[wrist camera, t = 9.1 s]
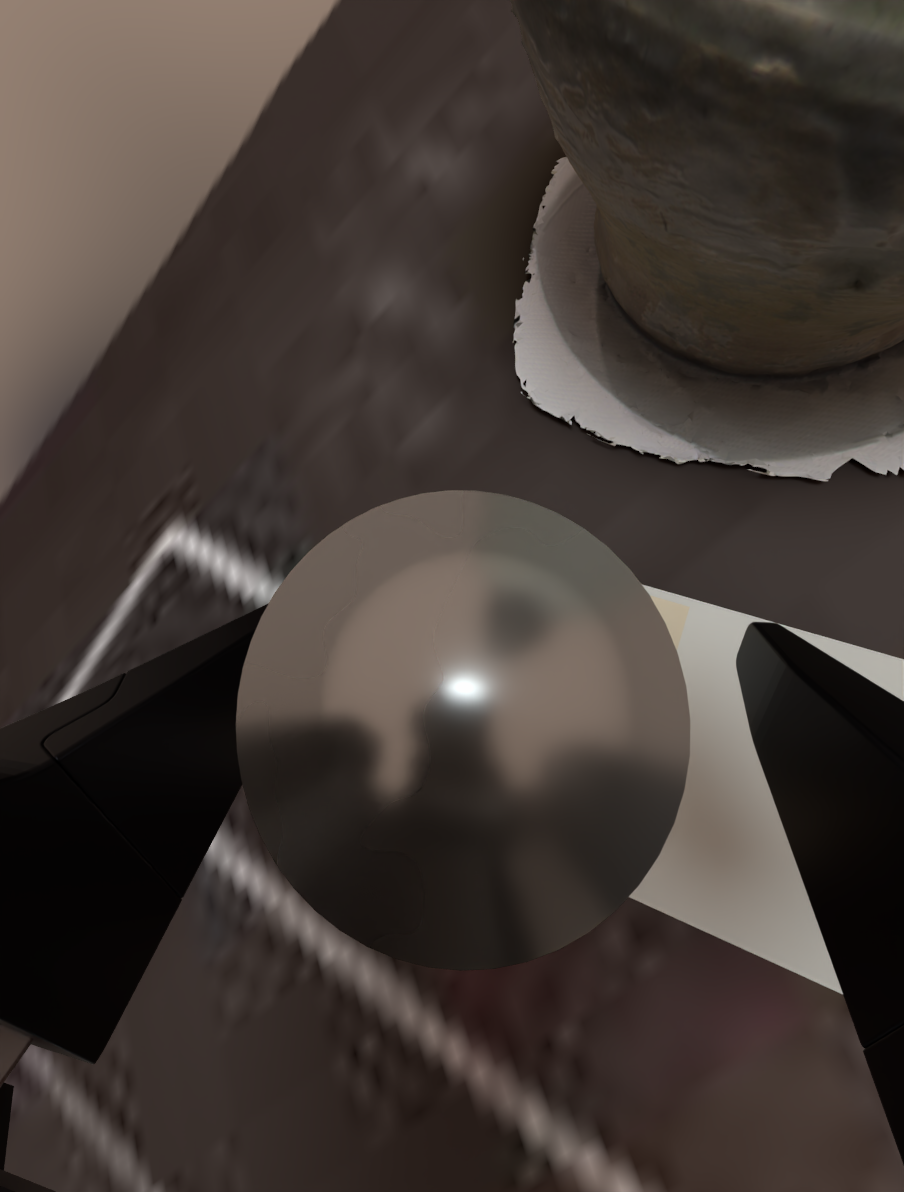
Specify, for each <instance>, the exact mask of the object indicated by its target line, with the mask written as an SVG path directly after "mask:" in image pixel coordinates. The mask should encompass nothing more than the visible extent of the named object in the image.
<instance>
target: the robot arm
mask: <svg viewBox="0 0 904 1192" xmlns="http://www.w3.org/2000/svg"><path fill="white" fill-rule="evenodd" d="M267 606H268V604H267V605H265V606H262V607H260V608H258V609H256V610H254V611H252V612H250V613H248V614H246V615H244V616H242V617H240V618H238V619H235V620H233V621H231V622H229V623H227V624H225V625H223V626H221V627H219V628H217V629H215V630H213V631H210V632H208V633H206V634H204V635H202V636H200V637H198V638H196V639H194V640H192V641H190V642H188V643H186V644H183V645H181V646H179V647H177V648H175V649H173V650H171V651H169V652H167V653H165V654H163V655H161V656H158V657H156V658H154V659H152V660H150V661H148V662H146V663H144V664H142V665H140V666H138V667H136V668H134V669H131V670H129V671H128V672H127V674H125V673H123V674H121V675H119V676H117V677H115V678H113V679H110V680H108V681H106V682H104V683H102V684H100V685H98V686H96V687H93V688H91V689H89V690H87V691H85V692H83V693H81V694H78V695H76V696H74V697H72V698H70V699H67V700H65V701H63V702H60V703H58V704H56V705H54V706H51V707H49V708H47V709H44V710H42V711H40V712H37V713H35V714H33V715H30V716H28V717H26V718H23V719H21V720H19V721H16V722H14V723H12V724H9V725H7V726H5V727H2V728H0V1192H55V1191H53V1190H50V1189H48V1188H46V1187H43V1186H41V1185H38V1184H36V1183H33V1182H31V1181H28V1180H26V1179H23V1178H21V1177H18V1176H16V1175H13V1174H11V1173H8V1172H6V1171H4V1164H5V1155H6V1147H7V1138H8V1130H9V1122H10V1113H11V1105H12V1096H13V1088H14V1086H12V1085H9V1084H6V1083H4V1082H5V1080H6V1079H7V1077H8V1076H9V1074H10V1073H11V1072H12V1070H13V1069H14V1067H15V1066H16V1064H17V1063H18V1062H19V1060H20V1059H21V1057H22V1056H23V1054H24V1053H25V1052H26V1050H27V1049H28V1047H29V1046H30V1044H32V1045H35V1046H38V1047H41V1048H44V1049H47V1050H50V1051H53V1052H56V1053H60V1054H63V1055H66V1056H69V1057H72V1058H75V1059H78V1060H81V1061H84V1062H87V1063H90V1064H95V1063H96V1061H97V1060H98V1058H99V1057H100V1055H101V1053H102V1052H103V1050H104V1048H105V1046H106V1045H107V1043H108V1041H109V1039H110V1037H111V1035H112V1033H113V1031H114V1029H115V1028H116V1026H117V1024H118V1022H119V1020H120V1018H121V1016H122V1014H123V1012H124V1010H125V1008H126V1006H127V1005H128V1003H129V1001H130V999H131V997H132V995H133V993H134V991H135V989H136V987H137V985H138V983H139V981H140V980H141V978H142V976H143V974H144V972H145V970H146V968H147V966H148V964H149V962H150V960H151V958H152V957H153V955H154V953H155V951H156V949H157V947H158V945H159V943H160V941H161V939H162V937H163V936H164V934H165V932H166V930H167V928H168V926H169V924H170V922H171V920H172V918H173V916H174V915H175V913H176V911H177V909H178V907H179V905H180V903H181V901H182V899H181V898H183V897H184V895H185V893H186V891H187V889H188V887H189V885H190V883H191V881H192V879H193V878H194V876H195V874H196V872H197V870H198V868H199V866H200V864H201V862H202V860H203V858H204V856H205V855H206V853H207V851H208V849H209V847H210V845H211V843H212V841H213V839H214V837H215V835H216V834H217V832H218V830H219V828H220V826H221V824H222V822H223V820H224V818H225V816H226V814H227V812H228V811H229V809H230V807H231V805H232V803H233V801H234V799H235V797H236V795H237V793H238V791H239V789H240V788H241V786H242V781H241V774H240V768H239V762H238V755H237V740H236V713H237V699H238V691H239V686H240V680H241V675H242V670H243V666H244V662H245V659H246V656H247V652H248V649H249V646H250V642H251V640H252V637H253V635H254V633H255V630H256V628H257V626H258V623H259V621H260V619H261V617H262V615H263V613H264V611H265V609H266V608H267ZM736 669H737V674H738V678H739V683H740V687H741V692H742V697H743V701H744V706H745V710H746V715H747V719H748V724H749V728H750V732H751V736H752V740H753V743H754V746H755V749H756V753H757V755H758V758H759V761H760V764H761V767H762V769H763V772H764V775H765V778H766V780H767V783H768V786H769V789H770V792H771V794H772V797H773V800H774V803H775V806H776V808H777V811H778V814H779V817H780V820H781V822H782V825H783V828H784V831H785V834H786V836H787V839H788V842H789V845H790V847H791V850H792V853H793V856H794V859H795V861H796V864H797V867H798V870H799V873H800V875H801V878H802V881H803V884H804V887H805V889H806V892H807V895H808V898H809V901H810V903H811V906H812V909H813V912H814V914H815V917H816V920H817V923H818V926H819V928H820V931H821V934H822V937H823V940H824V942H825V945H826V948H827V951H828V954H829V956H830V959H831V962H832V965H833V968H834V970H835V973H836V976H837V979H838V981H839V984H840V987H841V990H842V993H843V995H844V998H845V1001H846V1004H847V1007H848V1009H849V1012H850V1015H851V1018H852V1021H853V1023H854V1026H855V1029H856V1032H857V1035H858V1037H859V1040H860V1043H861V1045H862V1046H863V1047H864V1048H865V1049H864V1050H863V1052H864V1055H865V1058H866V1061H867V1064H868V1066H869V1069H870V1072H871V1075H872V1078H873V1080H874V1083H875V1086H876V1089H877V1092H878V1094H879V1097H880V1100H881V1103H882V1106H883V1108H884V1111H885V1114H886V1117H887V1119H888V1122H889V1125H890V1128H891V1131H892V1133H893V1136H894V1139H895V1142H896V1145H897V1147H898V1150H899V1153H900V1156H901V1159H902V1161H903V1164H904V701H903V700H901V699H899V698H898V697H896V696H895V695H893V694H891V693H890V692H888V691H886V690H885V689H883V688H882V687H880V686H878V685H877V684H875V683H873V682H872V681H870V680H869V679H867V678H865V677H864V676H862V675H861V674H859V673H857V672H856V671H854V670H852V669H851V668H849V667H848V666H846V665H844V664H843V663H841V662H839V661H838V660H836V659H835V658H833V657H831V656H830V655H828V654H827V653H825V652H823V651H822V650H820V649H818V648H817V647H815V646H814V645H812V644H810V643H809V642H807V641H805V640H804V639H802V638H801V637H799V636H797V635H796V634H794V633H793V632H791V631H789V630H788V629H786V628H784V627H783V626H781V625H779V624H777V623H771V622H752V623H750V624H749V625H748V627H747V629H746V631H745V634H744V637H743V640H742V642H741V645H740V648H739V650H738V653H737V657H736Z"/></svg>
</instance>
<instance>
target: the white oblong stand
mask: <svg viewBox="0 0 904 1192" xmlns="http://www.w3.org/2000/svg"><path fill="white" fill-rule="evenodd" d="M642 586H643V587H644V588H645V590H646V591H647V592H648V594H649V595H650V597H651V599H652V600H653V602H654V604H655V606H656V607H657V609H658V611H659V613H660V614H661V616H662V618H663V620H664V621H665V623H666V626H667V628H668V631H669V633H670V635H671V638H672V640H673V643H674V645H675V648H676V650H677V653H678V656H679V660H680V664H681V667H682V671H683V675H684V679H685V683H686V687H687V696H688V704H689V712H690V758H689V764H688V771H687V777H686V784H685V790H684V793H683V797H682V800H681V803H680V806H679V810H678V813H677V816H676V819H675V823H674V825H673V827H672V829H671V832H670V834H669V836H668V838H667V840H666V842H665V844H664V846H663V848H662V851H661V853H660V855H659V857H658V858H657V860H656V861H655V863H654V864H653V866H652V867H651V868H650V870H649V871H648V873H647V874H646V876H645V877H644V879H643V880H642V882H641V883H640V885H639V886H638V887H637V888H636V889H635V890H634V892H633V893H632V894H631V895H630V896H629V897H630V898H632V899H634V900H637V901H639V902H641V903H643V904H645V905H648V906H650V907H652V908H654V909H656V910H659V911H661V912H663V913H665V914H667V915H669V916H672V917H674V918H676V919H678V920H680V921H683V922H685V923H687V924H689V925H691V926H694V927H696V928H698V929H700V930H702V931H705V932H707V933H709V934H711V935H713V936H716V937H718V938H720V939H722V940H724V941H727V942H729V943H731V944H733V945H735V946H738V947H740V948H742V949H744V950H746V951H749V952H751V953H753V954H755V955H757V956H760V957H762V958H764V959H766V960H768V961H771V962H773V963H775V964H777V965H779V966H782V967H784V968H786V969H788V970H790V971H793V972H795V973H797V974H799V975H801V976H804V977H806V978H808V979H810V980H812V981H815V982H817V983H819V984H821V985H823V986H825V987H828V988H830V989H832V990H834V991H836V992H839V993H841V994H843V993H842V990H841V987H840V984H839V981H838V979H837V976H836V973H835V970H834V968H833V965H832V962H831V959H830V956H829V954H828V951H827V948H826V945H825V942H824V940H823V937H822V934H821V931H820V928H819V926H818V923H817V920H816V917H815V914H814V912H813V909H812V906H811V903H810V901H809V898H808V895H807V892H806V889H805V887H804V884H803V881H802V878H801V875H800V873H799V870H798V867H797V864H796V861H795V859H794V856H793V853H792V850H791V847H790V845H789V842H788V839H787V836H786V834H785V831H784V828H783V825H782V822H781V820H780V817H779V814H778V811H777V808H776V806H775V803H774V800H773V797H772V794H771V792H770V789H769V786H768V783H767V780H766V778H765V775H764V772H763V769H762V767H761V764H760V761H759V758H758V755H757V753H756V749H755V746H754V743H753V740H752V736H751V732H750V728H749V724H748V719H747V715H746V710H745V706H744V701H743V697H742V692H741V687H740V683H739V678H738V674H737V669H736V657H737V653H738V650H739V648H740V645H741V642H742V640H743V637H744V634H745V631H746V629H747V627H748V625H749V624H750V623H752V622H771V621H767V620H764V619H760V618H757V617H754V616H750V615H747V614H743V613H740V612H736V611H733V610H729V609H726V608H722V607H719V606H715V605H712V604H708V603H705V602H701V601H698V600H694V599H691V598H687V597H684V596H680V595H677V594H673V593H670V592H666V591H663V590H659V589H656V588H652V587H649V586H645V585H642ZM771 623H774V622H771ZM777 624H778V623H777ZM779 625H781V624H779ZM781 626H783V627H784V628H786V629H788V630H789V631H791V632H793V633H794V634H796V635H797V636H799V637H801V638H802V639H804V640H805V641H807V642H809V643H810V644H812V645H814V646H815V647H817V648H818V649H820V650H822V651H823V652H825V653H827V654H828V655H830V656H831V657H833V658H835V659H836V660H838V661H839V662H841V663H843V664H844V665H846V666H848V667H849V668H851V669H852V670H854V671H856V672H857V673H859V674H861V675H862V676H864V677H865V678H867V679H869V680H870V681H872V682H873V683H875V684H877V685H878V686H880V687H882V688H883V689H885V690H886V691H888V692H890V693H891V694H893V695H895V696H896V697H898V698H899V699H901V700H903V701H904V660H903V659H900V658H896V657H893V656H890V655H886V654H883V653H879V652H876V651H872V650H869V649H865V648H862V647H858V646H855V645H851V644H848V643H844V642H841V641H837V640H834V639H830V638H827V637H823V636H820V635H816V634H813V633H809V632H806V631H802V630H799V629H795V628H792V627H788V626H785V625H781Z"/></svg>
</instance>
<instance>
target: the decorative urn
mask: <svg viewBox="0 0 904 1192" xmlns="http://www.w3.org/2000/svg"><path fill="white" fill-rule="evenodd" d="M510 2H511V4H512V9H511V12H513V13H514V15H515V16H516V17H517V19H518V22H519V25H520V30H521V35H522V45H523V47H524V49H525V51H526V53H527V55H528V58H529V61H530V64H531V67H532V70H533V73H534V76H535V79H536V82H537V86H538V90H539V93H540V97H541V99H542V102H543V104H544V106H545V107H546V109H547V112H548V116H549V118H550V120H551V122H552V128H553V130H554V134H555V138H556V140H557V141H558V142H559V144H560V145H561V148H562V150H563V152H564V153H565V155H566V156H567V157H563V158H561V159H559V160H557V162H559V164H557V165H556V166H555V167H554V168H555V169H553V170H552V171H553V172H551V174H552V179H551V180H550V182H549V185H548V186H547V187H546V189H545V191H546V194H545V195H544V196H543V197H542V199H543V201H542V202H541V204H540V207H539V212H538V217H537V220H536V222H535V224H534V226H533V230H534V232H533V233H534V234H533V239H532V242H531V246H530V248H531V249H530V251H531V252H530V253H529V258H530V259H531V260H529V261H528V263H529V265H528V266H527V267H526V271H525V274H528V273H531V275H532V277H531V279H529V280H527V281H526V282H525V284H524V286H523V288H522V289H523V290H524V292H523V293H522V296H523V298H521V299H520V300H517V298H516V302H515V303H516V312H515V320H514V328H515V332H514V335H513V336H514V340H516V341H517V342H516V344H515V347H514V348H515V357H516V358H515V368H516V374H517V376H518V377H519V378H520V380H521V387H522V388H523V389H524V390H525V391H527V392H528V395H529V397H527V398H529V399H531V401H532V402H533V404H535V405H536V406H538V407H540V408H541V409H542V410H544V411H547V412H549V413H550V414H552V415H554V416H556V417H558V418H560V419H562V420H564V421H566V422H568V423H569V424H571V425H572V421H570V419H571V418H572V417H573V416H575V420H576V421H577V422H578V423H579V424H580V427H581V428H584V429H585V428H586V430H590V431H591V432H592V433H593V432H595V431H596V432H595V435H597V436H598V437H599V436H602V438H605V439H607V440H611V441H613V443H611V444H610V445H612V446H616V444H619V445H625V446H631V447H632V448H633V449H635V450H637V451H639V452H641V454H643V453H642V452H648V453H654V454H655V455H658V454H659V455H661V458H663V459H669V460H671V461H674V462H676V463H677V464H682V463H684V462H687V461H692V460H698V461H700V462H705V461H708V460H711V461H713V462H721V463H723V464H726V465H733V464H739V465H741V466H743V465H746V464H750V465H752V466H753V467H762V468H765V469H767V473H763V472H758V471H754V472H757V473H761V474H765V475H770V476H776V475H777V476H781V477H791V476H799V477H804V478H811V479H812V480H813V479H815V480H819V481H828V480H825V479H830V478H831V474H832V473H833V472H834V471H835V470H836V469H837V468H839V467H840V466H841V465H843V464H844V463H846V462H847V461H849V460H850V459H852V458H853V459H855V460H857V461H858V462H860V463H861V464H863V465H865V466H866V467H868V468H869V469H871V470H872V471H874V472H877V473H880V474H884V475H886V474H887V470H889V471H891V472H892V473H894V474H895V475H897V474H898V471H899V467H901V468H902V469H903V470H904V0H510ZM542 206H545V208H544V209H543V208H542ZM523 260H524V259H523ZM519 315H520V320H518V317H519ZM514 340H513V341H514ZM525 380H526V387H525V386H524V385H523V383H524V382H525ZM521 393H522V392H521ZM523 396H524V395H523ZM588 435H589V434H588ZM590 436H591V435H590ZM592 437H593V436H592ZM594 438H595V437H594ZM596 439H597V438H596ZM598 440H599V439H598ZM600 441H601V440H600ZM602 442H604V441H602ZM605 443H607V442H605ZM607 444H609V443H607ZM747 470H751V469H747ZM751 471H753V470H751Z"/></svg>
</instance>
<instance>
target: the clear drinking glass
mask: <svg viewBox="0 0 904 1192" xmlns="http://www.w3.org/2000/svg"><path fill="white" fill-rule="evenodd" d="M236 740H237V755H238V762H239V768H240V774H241V781H242V784H243V788H244V791H245V795H246V799H247V802H248V806H249V809H250V812H251V814H252V817H253V819H254V822H255V824H256V826H257V829H258V831H259V834H260V836H261V838H262V840H263V842H264V844H265V845H266V847H267V849H268V851H269V852H270V854H271V856H272V858H273V860H274V861H275V863H276V865H277V866H278V867H279V869H280V870H281V871H282V873H283V874H284V875H285V877H286V878H287V880H288V881H289V882H290V884H291V885H292V886H293V888H294V889H295V890H296V891H297V892H298V893H299V894H300V895H301V896H302V897H303V898H304V899H305V900H306V901H307V902H308V904H309V905H310V906H311V907H312V908H313V909H314V910H315V911H316V912H318V913H319V914H320V915H321V916H323V917H324V918H325V919H326V920H328V921H329V922H330V923H331V924H333V925H334V926H335V927H336V928H338V929H339V930H340V931H342V932H344V933H345V934H347V935H349V936H350V937H352V938H354V939H355V940H357V941H359V942H360V943H362V944H364V945H365V946H367V947H369V948H372V949H374V950H376V951H379V952H381V953H383V954H386V955H388V956H391V957H393V958H395V959H398V960H402V961H406V962H410V963H414V964H418V965H422V966H426V967H432V968H441V969H451V970H480V969H495V968H500V967H505V966H510V965H515V964H519V963H524V962H528V961H531V960H533V959H536V958H539V957H541V956H544V955H546V954H549V953H552V952H554V951H557V950H559V949H561V948H563V947H565V946H566V945H568V944H570V943H571V942H573V941H575V940H577V939H578V938H580V937H582V936H584V935H585V934H587V933H589V932H590V931H591V930H593V929H594V928H595V927H596V926H598V925H599V924H600V923H601V922H603V921H604V920H605V919H606V918H608V917H609V916H610V915H611V914H613V913H614V912H615V911H616V910H617V909H618V908H619V907H620V906H621V905H622V904H623V902H624V901H625V900H626V899H627V898H628V897H629V896H630V895H631V894H632V893H633V892H634V890H635V889H636V888H637V887H638V886H639V885H640V883H641V882H642V880H643V879H644V877H645V876H646V874H647V873H648V871H649V870H650V868H651V867H652V866H653V864H654V863H655V861H656V860H657V858H658V857H659V855H660V853H661V851H662V848H663V846H664V844H665V842H666V840H667V838H668V836H669V834H670V832H671V829H672V827H673V825H674V823H675V819H676V816H677V813H678V810H679V806H680V803H681V800H682V797H683V793H684V790H685V784H686V777H687V771H688V764H689V758H690V712H689V704H688V696H687V687H686V683H685V679H684V675H683V671H682V667H681V664H680V660H679V656H678V653H677V650H676V648H675V645H674V643H673V640H672V638H671V635H670V633H669V631H668V628H667V626H666V623H665V621H664V620H663V618H662V616H661V614H660V613H659V611H658V609H657V607H656V606H655V604H654V602H653V600H652V599H651V597H650V595H649V594H648V592H647V591H646V590H645V588H644V587H643V586H642V584H641V583H640V582H639V581H638V579H637V578H636V577H635V575H634V574H633V573H632V571H631V570H630V569H629V568H628V567H627V566H626V565H625V564H624V563H623V562H622V561H621V560H620V559H619V558H618V557H617V556H616V555H615V554H614V553H613V552H612V551H611V550H610V549H609V548H608V547H607V546H606V545H605V544H603V543H602V542H601V541H599V540H598V539H597V538H596V537H594V536H593V535H592V534H590V533H589V532H588V531H587V530H585V529H584V528H582V527H581V526H579V525H577V524H575V523H574V522H572V521H570V520H569V519H567V518H565V517H563V516H562V515H560V514H558V513H556V512H554V511H551V510H549V509H546V508H544V507H542V506H539V505H537V504H535V503H532V502H529V501H525V500H522V499H518V498H514V497H511V496H507V495H503V494H496V493H489V492H482V491H456V490H449V491H440V492H431V493H423V494H419V495H414V496H410V497H406V498H402V499H398V500H395V501H392V502H389V503H387V504H384V505H381V506H379V507H376V508H373V509H371V510H369V511H367V512H365V513H364V514H362V515H360V516H358V517H356V518H354V519H352V520H350V521H348V522H347V523H345V524H344V525H343V526H341V527H340V528H338V529H337V530H335V531H334V532H332V533H331V534H329V535H328V536H327V537H325V538H324V539H323V540H322V541H321V542H320V543H319V544H317V545H316V546H315V547H314V548H313V549H312V550H310V551H309V552H308V553H307V554H306V555H305V556H304V558H303V559H302V560H301V561H300V562H299V563H298V564H297V565H296V566H295V567H294V568H293V569H292V571H291V572H290V573H289V574H288V576H287V577H286V578H285V580H284V581H283V583H282V584H281V585H280V587H279V588H278V589H277V591H276V592H275V594H274V595H273V597H272V599H271V601H270V602H269V604H268V606H267V608H266V609H265V611H264V613H263V615H262V617H261V619H260V621H259V623H258V626H257V628H256V630H255V633H254V635H253V637H252V640H251V642H250V646H249V649H248V652H247V656H246V659H245V662H244V666H243V670H242V675H241V680H240V686H239V691H238V699H237V713H236Z"/></svg>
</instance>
